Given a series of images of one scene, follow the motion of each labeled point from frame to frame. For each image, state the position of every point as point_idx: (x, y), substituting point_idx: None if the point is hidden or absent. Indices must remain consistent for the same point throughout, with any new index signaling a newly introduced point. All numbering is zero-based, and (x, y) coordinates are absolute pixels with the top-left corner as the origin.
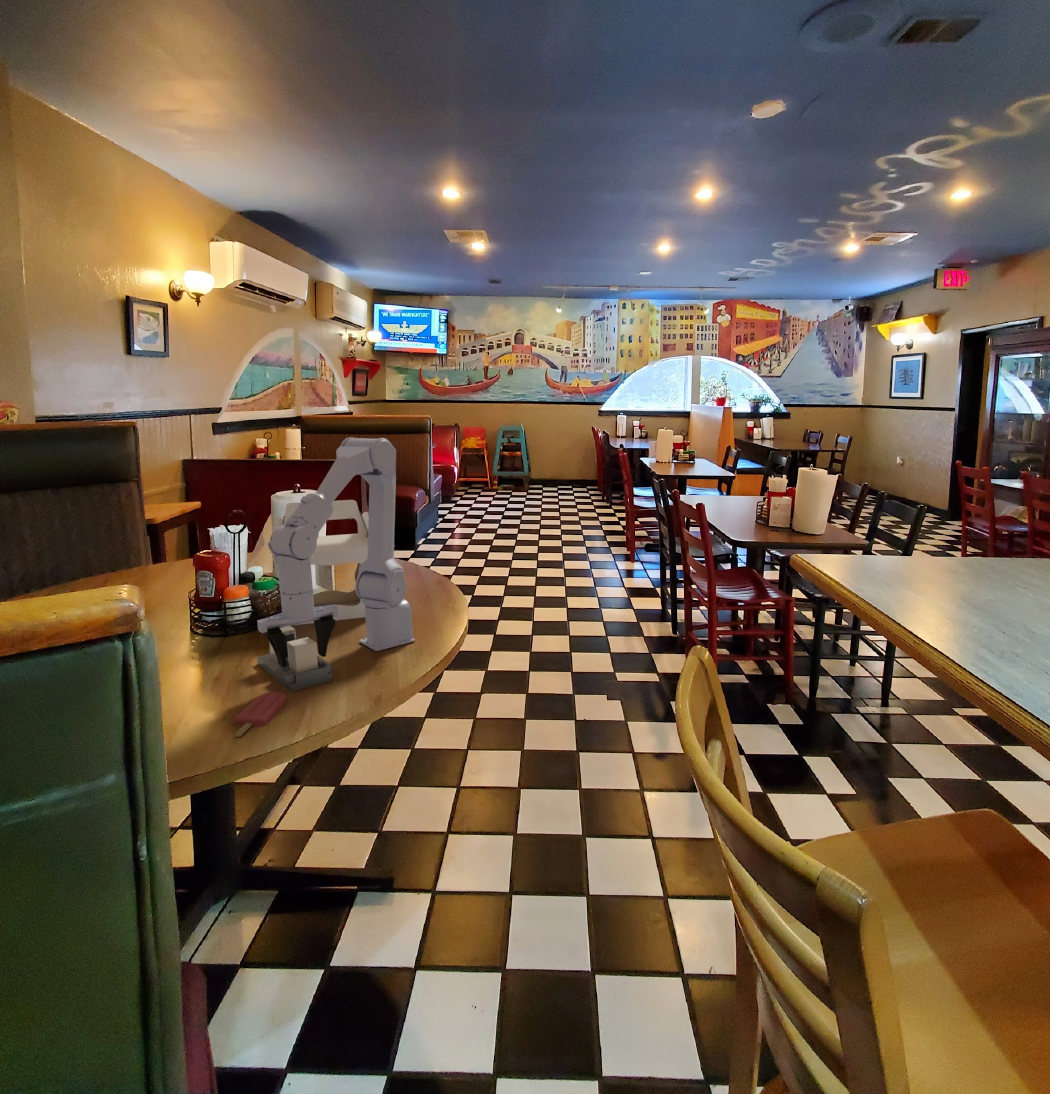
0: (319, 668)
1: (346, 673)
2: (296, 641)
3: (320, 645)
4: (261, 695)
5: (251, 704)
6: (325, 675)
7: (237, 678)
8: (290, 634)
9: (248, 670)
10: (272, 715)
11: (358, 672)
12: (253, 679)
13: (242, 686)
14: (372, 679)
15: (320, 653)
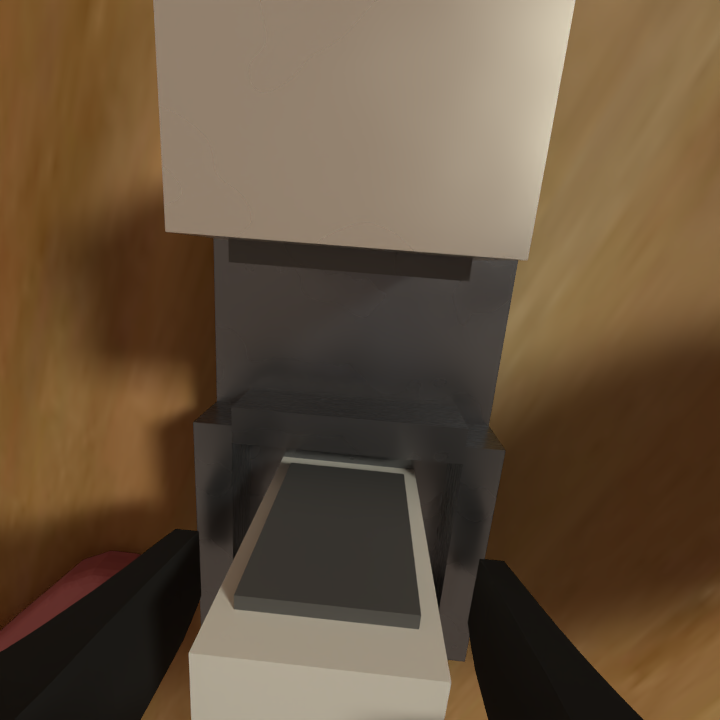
0: None
1: (544, 562)
2: (280, 712)
3: (502, 684)
4: (78, 588)
5: (20, 635)
6: None
7: (55, 189)
8: (416, 267)
9: (144, 94)
10: None
11: (592, 591)
12: (133, 280)
13: (59, 334)
14: None
15: (476, 611)
